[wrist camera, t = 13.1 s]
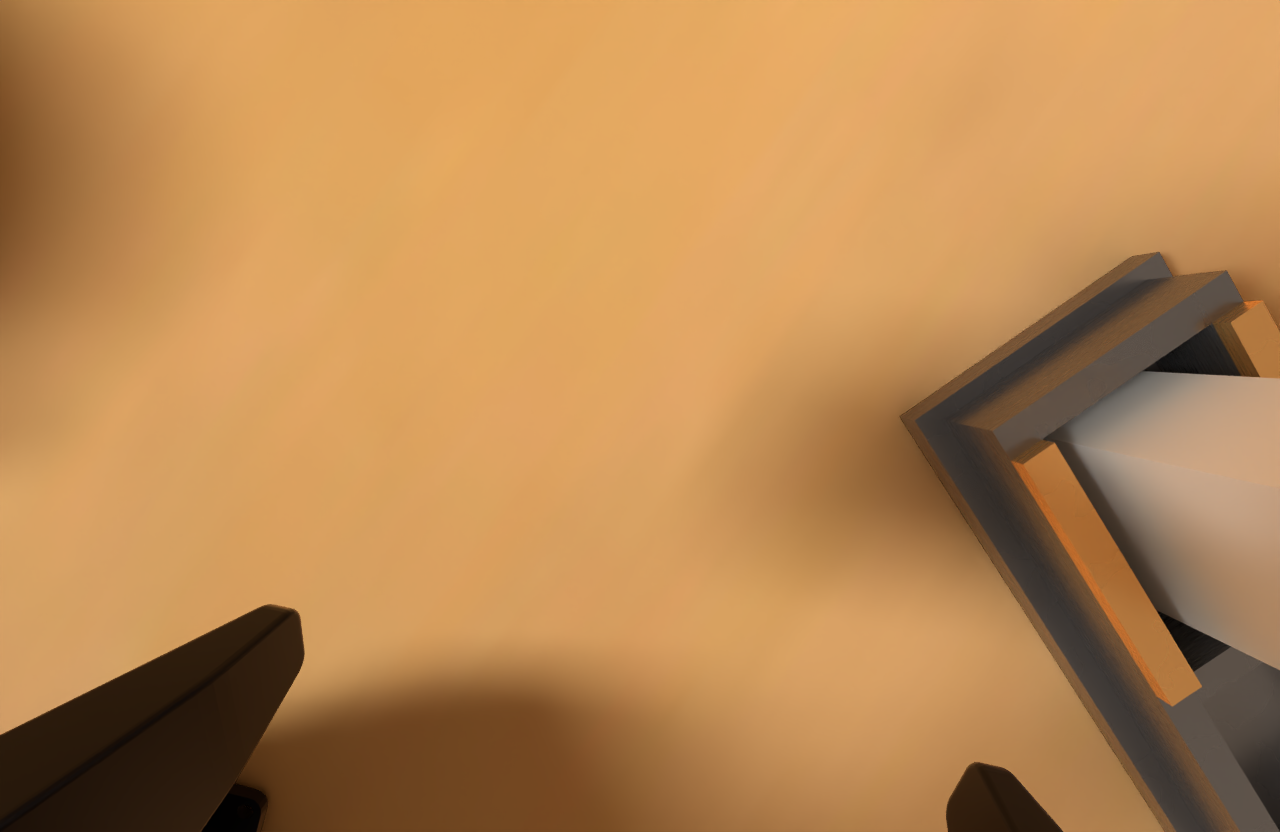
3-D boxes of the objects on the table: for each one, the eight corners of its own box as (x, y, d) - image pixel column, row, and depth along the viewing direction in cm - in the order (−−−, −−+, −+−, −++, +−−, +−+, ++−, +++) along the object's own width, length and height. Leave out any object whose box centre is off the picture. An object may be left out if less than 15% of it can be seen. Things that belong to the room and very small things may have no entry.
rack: (1196, 880, 23) (1319, 993, 19) (899, 416, 20) (970, 434, 16) (1404, 743, 23) (1573, 828, 19) (1131, 256, 20) (1261, 234, 16)
